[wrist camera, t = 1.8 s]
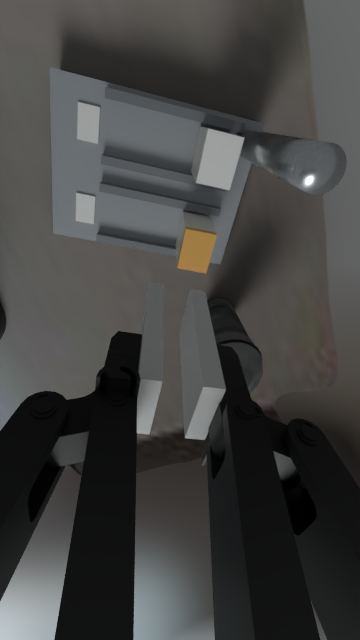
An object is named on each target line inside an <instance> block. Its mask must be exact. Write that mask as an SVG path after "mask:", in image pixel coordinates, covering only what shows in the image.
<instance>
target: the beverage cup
mask: <svg viewBox="0 0 360 640" xmlns="http://www.w3.org/2000/svg"><path fill="white" fill-rule="evenodd" d="M207 304H208V308H209V313H210V318H211V322H212V327H213V331H214V336H215V341H216V345H222V346H229V347H232V348H233V349H234V351H235V352H236V353H237V354H238V356H239V360H240V363H241V366H242V370H243V373H244V377H245V380H246V383H247V387H248V390H249V393H251V392H252V391H253V390H254V389H255V388H256V387H257V385H258V384H259V382H260V380H261V376H262V372H263V366H262V356H261V353H260V351H259V349H258V348H257V347H256V346H255V345H254V343H253V342H252V341H251V339H250V338H249V337H248V335H247V333H246V331H245V329H244V327H243V325H242V323H241V321H240V319H239V318H238V316H237V314H236V312H235V310H234V309H233V307H232V305H231V304H230V302H228V301H227V300H225V299H219V298H217V299H213V300H211V301H209V302H208V303H207Z"/></svg>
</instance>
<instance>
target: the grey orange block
mask: <svg viewBox="0 0 360 640" xmlns="http://www.w3.org/2000/svg"><path fill="white" fill-rule="evenodd" d="M216 237H217V234H216V231H215V229H214V227H213V224H212V222H211V220H210V217H209V215H204V214H199V213H195V212H190V211H185V210H183V211H182V216H181V221H180V225H179V230H178V235H177V240H176V258H177V268H179V269H185V270H190V271H196V272H201V273H206V272H207V269H208V265H209V262H210V258H211V255H212V251H213V248H214V244H215V241H216Z"/></svg>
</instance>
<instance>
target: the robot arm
mask: <svg viewBox="0 0 360 640" xmlns="http://www.w3.org/2000/svg"><path fill="white" fill-rule="evenodd" d="M163 323H164V285H163V284H158V283H152V282H149V285H148V291H147V297H146V302H145V308H144V314H143V320H142V326H141V334H135V333H128V332H121V331H118V332H117V333H116V334H115V335H114V336H113V337H112V338H111V342H110V346H109V350H108V354H107V358H106V362H105V366H104V367H103V368H102V369H101V370H100V371H99V372H98V374H97V377H96V389H95V391H94V392H92V393H91V394H89V395H87V396H85V397H81V398H76V399H70V400H66V399H65V398H64V397H63V395H61V394H59V393H56V392H51V391H44V392H38V393H35V394H33V395H31V396H29V397H28V398H26V399H25V400H24V401H23V402H22V403H21V404H20V406H19V407H18V408H17V410H16V411H15V412H14V414H13V415H12V416H11V418H10V419H9V420H8V422H7V423H6V424H5V426H4V427H3V428H2V430H1V431H0V600H1V598H2V596H3V594H4V592H5V590H6V588H7V586H8V584H9V582H10V580H11V578H12V575H13V574H14V572H15V569H16V567H17V565H18V563H19V561H20V559H21V557H22V555H23V553H24V551H25V549H26V547H27V544H28V542H29V540H30V538H31V536H32V534H33V532H34V530H35V528H36V526H37V524H38V522H39V520H40V517H41V516H42V514H43V512H44V509H45V507H46V505H47V503H48V501H49V499H50V497H51V495H52V493H53V491H54V489H55V487H56V484H57V483H58V480H59V478H60V476H61V474H62V472H63V470H64V468H65V466H66V465H69V464H74V463H78V462H82V461H84V465H83V471H82V477H81V483H80V489H79V495H78V501H77V507H76V513H75V519H74V525H73V531H72V538H71V543H70V550H69V555H68V561H67V568H66V574H65V580H64V586H63V592H62V598H61V604H60V610H59V616H58V622H57V628H56V634H55V640H133V624H134V621H133V620H134V619H133V618H134V564H135V561H134V560H135V504H136V503H135V502H136V501H135V500H136V445H137V433H139V434H149V433H150V429H151V425H152V421H153V417H154V413H155V409H156V405H157V401H158V397H159V393H160V389H161V385H162V378H163ZM5 326H6V322H5V315H4V312H3V309H2V307H1V305H0V339H1V338H2V336H3V334H4V331H5ZM179 339H180V357H181V376H182V394H183V412H184V430H185V438H190V439H201V440H205V438H206V436H207V433H208V431H209V437H210V443H209V446H208V448H207V450H206V452H205V455H204V457H203V459H202V464H201V465H203V466H204V465H205V463H206V461H207V471H208V494H209V514H210V515H209V516H210V538H211V559H212V560H211V561H212V583H213V606H214V628H215V640H320V637H319V633H318V629H317V625H316V621H315V617H314V613H313V609H312V605H311V601H312V604H313V606H314V608H315V611H316V613H317V616H318V618H319V620H320V622H321V625H322V628H323V630H324V633H325V635H326V637H327V640H360V488H359V486H358V485H357V484H356V482H355V480H354V479H353V478H352V476H351V475H350V473H349V471H348V470H347V468H346V467H345V465H344V464H343V462H342V461H341V459H340V458H339V456H338V455H337V453H336V452H335V450H334V449H333V447H332V446H331V444H330V443H329V441H328V440H327V438H326V436H325V435H324V434H323V433H322V431H321V430H320V429H319V428H318V427H317V426H315V425H314V424H313V423H311V422H309V421H306V420H304V419H293V420H291V421H290V423H289V424H288V425H286V424H283V423H281V422H278V421H275V420H273V419H271V418H269V417H267V416H265V415H264V413H263V411H262V409H261V408H260V406H259V405H258V404H257V403H256V402H254V401H252V400H251V397H250V393H249V390H248V387H247V383H246V380H245V377H244V373H243V370H242V366H241V363H240V360H239V356H238V354H237V353H236V352H235V351H234V349H233V348H232V347H229V346H222V345H216V341H215V336H214V331H213V327H212V322H211V318H210V313H209V308H208V304H207V299H206V294H205V292H204V291H198V290H192V289H190V292H189V296H188V300H187V304H186V308H185V311H184V315H183V319H182V323H181V327H180V331H179ZM309 596H310V597H309ZM310 599H311V601H310Z"/></svg>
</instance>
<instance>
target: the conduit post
mask: <svg viewBox="0 0 360 640" xmlns="http://www.w3.org/2000/svg"><path fill="white" fill-rule="evenodd" d="M237 136H240V137H244V142H243V145H242V149H241V152H240V157H242V158H244V159H245V160H247V161H249V162H251V163H253V164H255V165H256V166H258V167H260V168H262V169H264V170H266V171H268V172H269V173H271V174H273V175H275V176H277V177H279V178H280V179H282V180H284V181H286V182H288V183H290V184H291V185H293V186H295V187H297V188H299V189H301V190H303V191H304V192H306V193H308V194H311V195H321V194H324V193H326V192H328V191H330V190H332V189H333V188H334V187H335V186H336V185H337V184H338V183H339V182H340V180H341V178H342V177H343V175H344V172H345V169H346V155H345V152H344V151H343V149H342V148H341V147H340V146H339V145H337V144H335V143H330V142H324V141H317V140H311V139H305V138H298V137H292V136H285V135H279V134H273V133H266V132H260V131H253V130H243V132H242V133H240V132H239V133H238V134H237Z"/></svg>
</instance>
